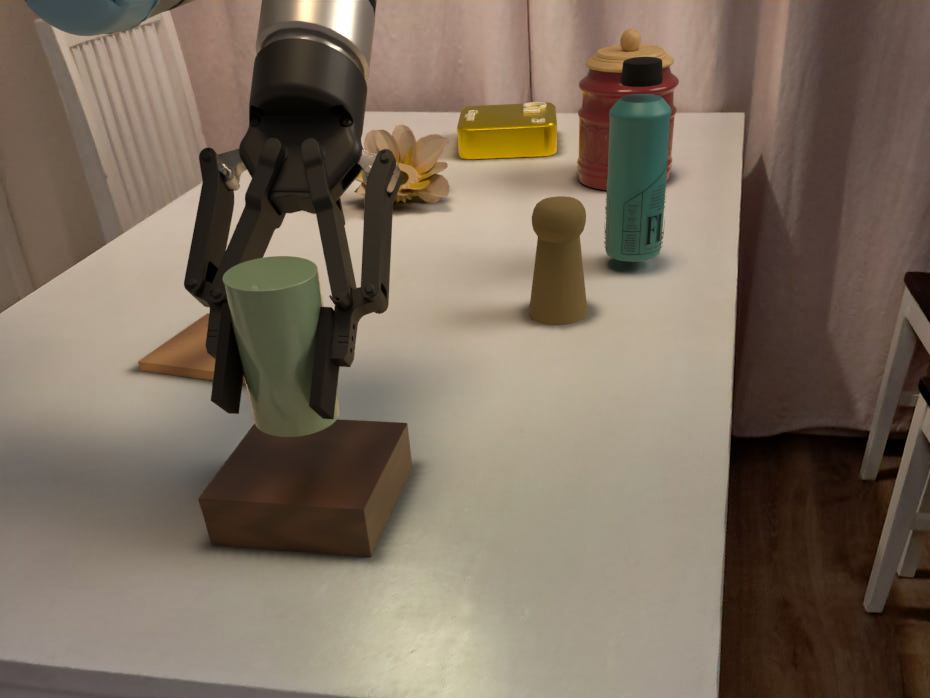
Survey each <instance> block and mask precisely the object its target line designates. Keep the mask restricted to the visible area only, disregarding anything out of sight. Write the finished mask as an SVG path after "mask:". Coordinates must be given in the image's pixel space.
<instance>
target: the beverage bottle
mask: <svg viewBox="0 0 930 698" xmlns="http://www.w3.org/2000/svg"><path fill="white" fill-rule="evenodd" d="M662 81H663V74H662V60H661V59H660V58H656V57H634V58H629V59H626V60H625V61H624V62H623V67H622V75H621V84H622V85H624V86H629V87H649V86H655V85H659V84H661V83H662ZM670 115H671V108H670V106H669V105H668V104H667V102H666V101H665V100H664V99H663V98H662V97H661V96H659V95H654V94H632V95H626V96H623V97H621V98H620V99H619V100H618V101H617V102H616V103H615V104H614V105H613V107H612V108H611V109H610V112H609V117H610V125H609V155H608V175H607V176H608V178H607V190H606V191H605V192H606V193H605V194H606V196H605V197H606V198H605V201H604V203H605V204H604V205H605V207H604V209H605V210H604V215H605V221H604V224H605V225H604V226H603V227H604V233H603V234H604V235H603V238H604V240H603V244H604V250H605V253H606V255H607V256H608V257H609V258H611V259H614V260H617V261H621V262H643V261H648V260H652V259H654V258H656V257H658V256H659V255H660V253H661V250H662V248H663V246H662V245H663V244H664V241H663V240H664V234H665V229H664V224H665V222H666V221H665V219H664V218H665V211H666V209H665V208H666V206H665V204H666V202H667V200H666V199H667V197H666V196H667V195H666V191H667V181H666V175H667V165H669V164H667V161H668V145H669V143H668V141H669V126H670ZM669 150H670V148H669ZM605 186H606V185H605Z"/></svg>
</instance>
